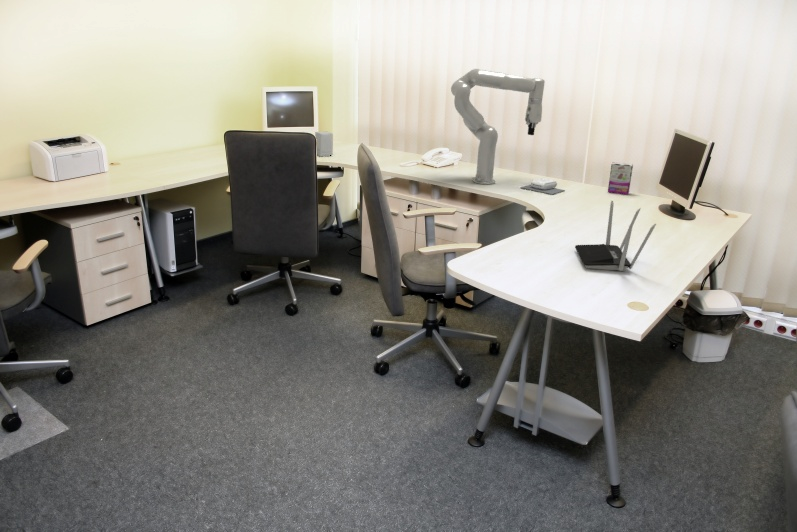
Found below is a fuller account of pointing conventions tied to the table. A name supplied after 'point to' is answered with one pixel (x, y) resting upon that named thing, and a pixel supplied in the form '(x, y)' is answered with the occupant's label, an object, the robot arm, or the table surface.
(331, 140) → the supplement box
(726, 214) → the table surface
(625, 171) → the candy bar box
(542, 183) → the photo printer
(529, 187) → the mat
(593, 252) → the wireless router
